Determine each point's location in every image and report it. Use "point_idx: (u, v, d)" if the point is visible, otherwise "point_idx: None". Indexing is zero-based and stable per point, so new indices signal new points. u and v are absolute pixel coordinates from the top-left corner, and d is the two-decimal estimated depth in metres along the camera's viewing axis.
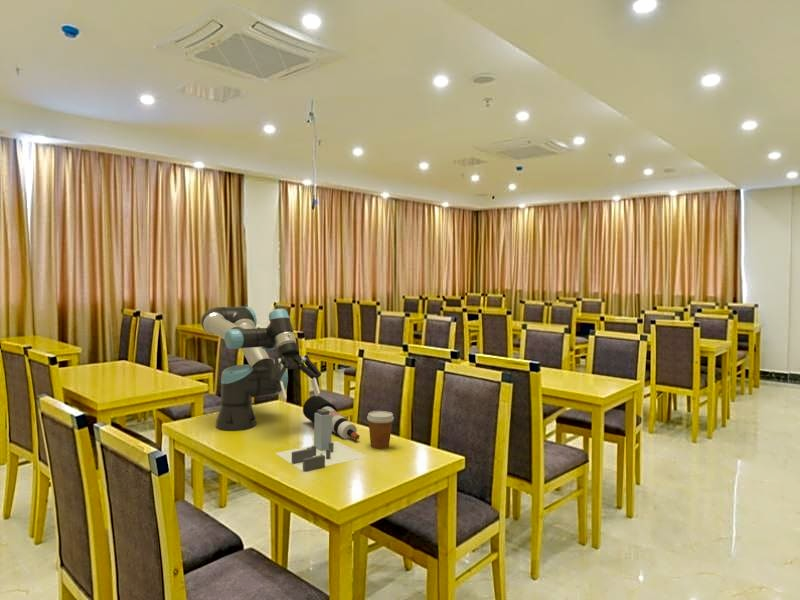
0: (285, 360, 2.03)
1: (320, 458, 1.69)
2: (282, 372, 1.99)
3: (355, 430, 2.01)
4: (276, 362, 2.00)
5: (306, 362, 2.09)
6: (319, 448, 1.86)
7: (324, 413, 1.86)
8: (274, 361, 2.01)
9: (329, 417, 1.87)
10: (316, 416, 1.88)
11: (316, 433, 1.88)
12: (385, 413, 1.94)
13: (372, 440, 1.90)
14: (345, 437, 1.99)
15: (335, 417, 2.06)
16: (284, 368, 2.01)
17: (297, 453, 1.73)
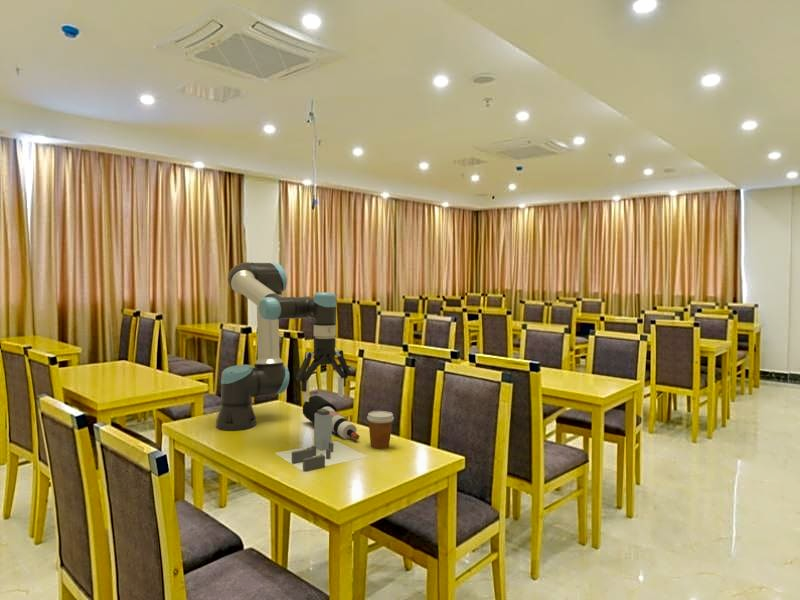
0: (318, 357, 1.84)
1: (320, 458, 1.69)
2: (311, 371, 1.83)
3: (355, 430, 2.01)
4: (308, 358, 1.82)
5: (339, 358, 1.90)
6: (319, 448, 1.86)
7: (324, 413, 1.86)
8: (306, 356, 1.82)
9: (329, 417, 1.87)
10: (316, 416, 1.88)
11: (316, 433, 1.88)
12: (385, 413, 1.94)
13: (372, 440, 1.90)
14: (345, 437, 1.99)
15: (335, 417, 2.05)
16: (315, 366, 1.83)
17: (297, 453, 1.73)
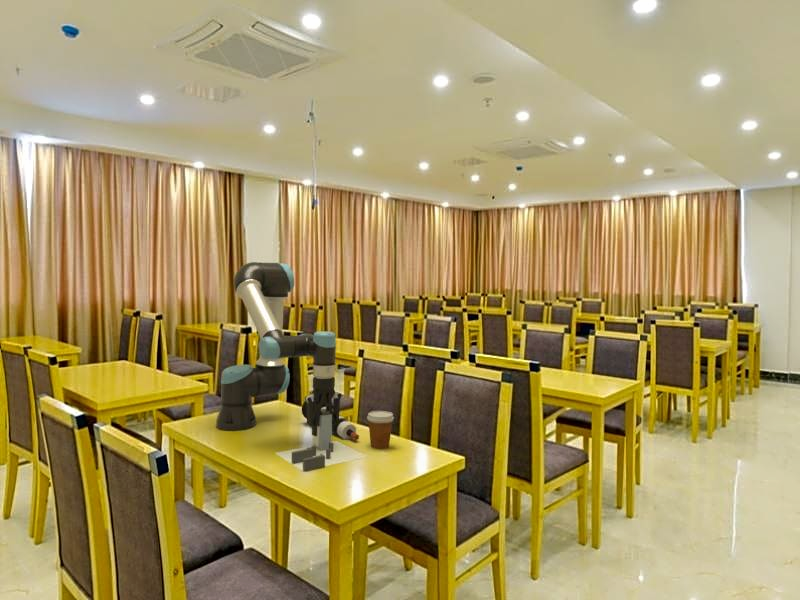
0: (318, 396, 1.85)
1: (320, 458, 1.69)
2: (318, 414, 1.85)
3: (354, 430, 2.01)
4: (310, 403, 1.83)
5: (335, 400, 1.90)
6: (319, 448, 1.86)
7: (324, 413, 1.86)
8: (307, 401, 1.83)
9: (329, 417, 1.87)
10: None
11: None
12: (385, 413, 1.94)
13: (372, 440, 1.90)
14: (344, 437, 1.99)
15: None
16: (319, 408, 1.85)
17: (297, 453, 1.73)
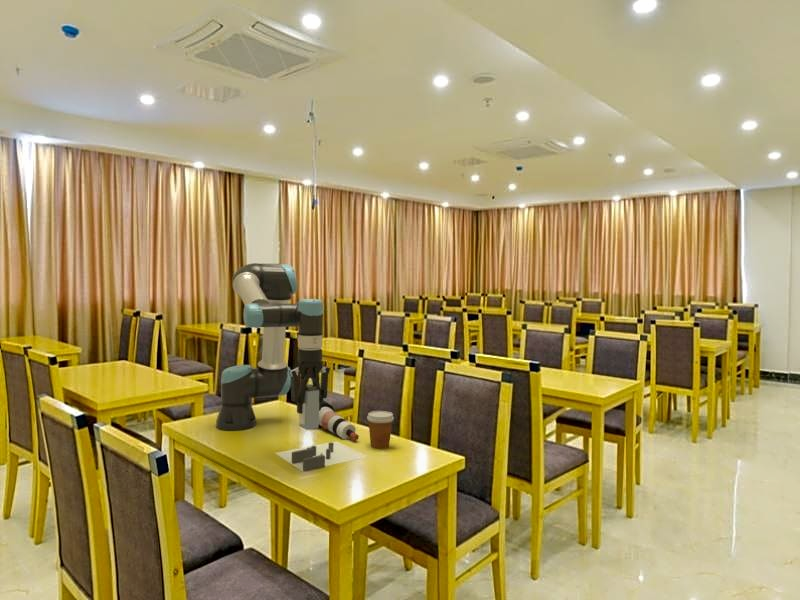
0: (304, 369, 1.68)
1: (320, 458, 1.69)
2: (304, 390, 1.68)
3: (354, 430, 2.01)
4: (294, 377, 1.66)
5: (323, 374, 1.73)
6: (305, 427, 1.69)
7: (310, 388, 1.69)
8: (292, 375, 1.66)
9: (316, 393, 1.69)
10: None
11: None
12: (385, 413, 1.94)
13: (372, 440, 1.90)
14: (344, 437, 1.99)
15: (334, 417, 2.05)
16: (305, 383, 1.68)
17: (297, 453, 1.73)
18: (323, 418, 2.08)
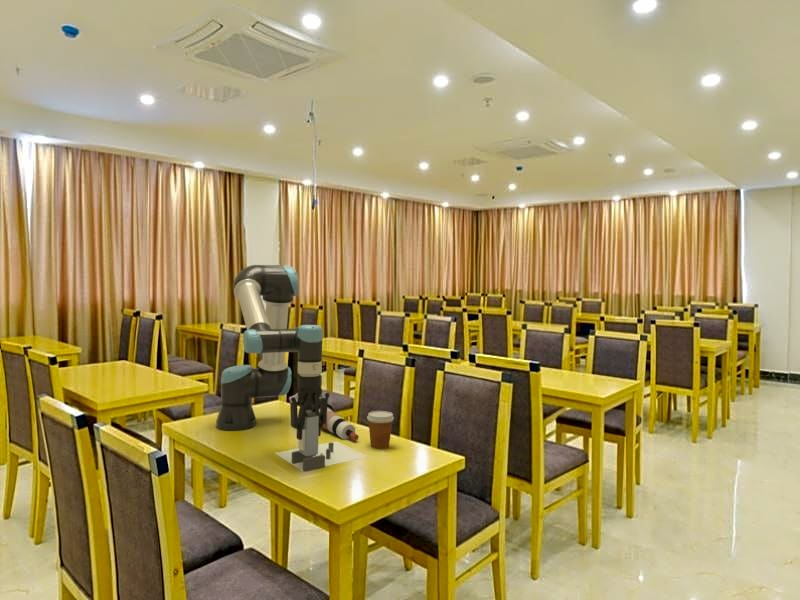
0: (303, 395, 1.68)
1: (320, 458, 1.69)
2: (303, 416, 1.68)
3: (354, 430, 2.01)
4: (294, 404, 1.66)
5: (322, 400, 1.73)
6: (304, 453, 1.69)
7: (310, 415, 1.69)
8: (291, 402, 1.66)
9: (316, 419, 1.69)
10: None
11: None
12: (385, 413, 1.94)
13: (372, 440, 1.90)
14: (344, 437, 1.99)
15: (333, 417, 2.05)
16: (304, 410, 1.68)
17: (297, 453, 1.73)
18: None
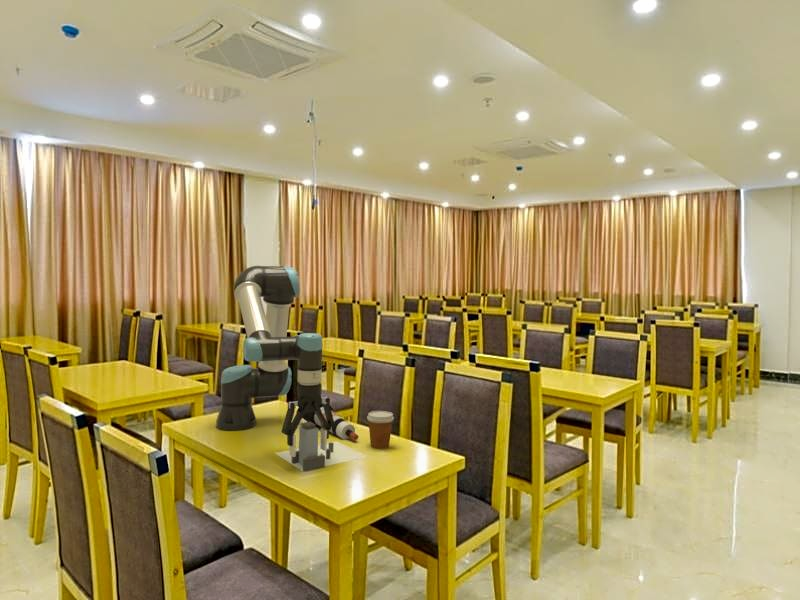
0: (302, 404, 1.68)
1: (320, 458, 1.69)
2: (297, 423, 1.67)
3: (353, 430, 2.01)
4: (291, 409, 1.66)
5: (325, 406, 1.74)
6: None
7: (309, 427, 1.69)
8: (289, 407, 1.66)
9: (315, 431, 1.70)
10: (301, 430, 1.71)
11: (301, 448, 1.71)
12: (385, 413, 1.94)
13: (372, 440, 1.90)
14: (344, 437, 1.99)
15: (333, 417, 2.05)
16: (300, 417, 1.68)
17: (297, 453, 1.73)
18: None
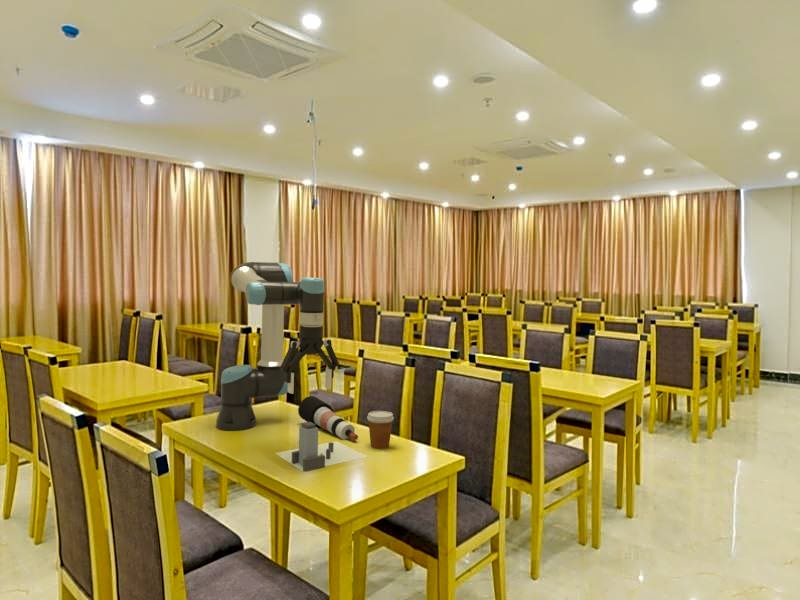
0: (304, 346, 1.73)
1: (320, 458, 1.69)
2: (297, 362, 1.71)
3: (353, 430, 2.01)
4: (293, 348, 1.70)
5: (327, 347, 1.79)
6: None
7: (309, 427, 1.69)
8: (291, 345, 1.71)
9: (315, 431, 1.70)
10: (301, 430, 1.71)
11: (301, 448, 1.71)
12: (385, 413, 1.94)
13: (372, 440, 1.90)
14: (343, 437, 1.99)
15: (332, 417, 2.05)
16: (300, 356, 1.72)
17: (297, 453, 1.73)
18: (321, 418, 2.08)
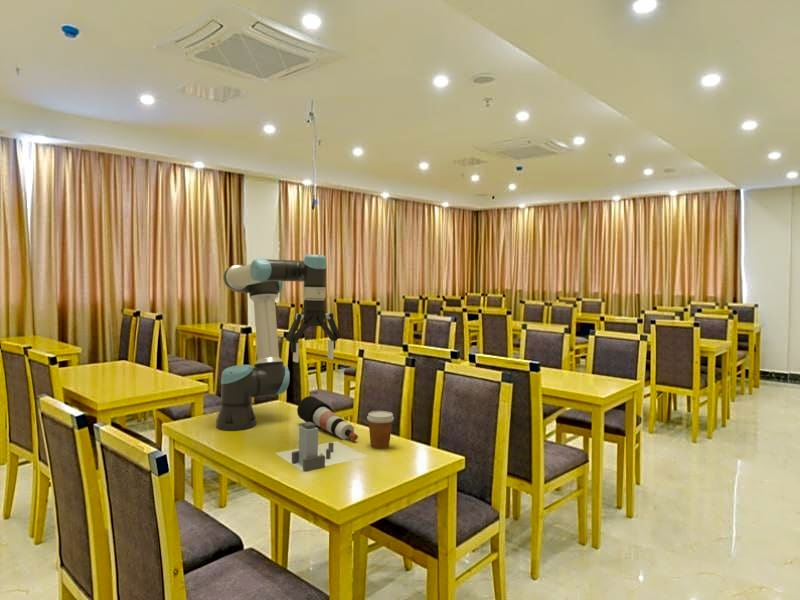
0: (308, 318, 1.86)
1: (320, 458, 1.69)
2: (301, 332, 1.84)
3: (353, 430, 2.01)
4: (298, 319, 1.83)
5: (329, 320, 1.92)
6: None
7: (309, 427, 1.69)
8: (296, 317, 1.84)
9: (315, 431, 1.70)
10: (301, 430, 1.71)
11: (301, 448, 1.71)
12: (385, 413, 1.94)
13: (372, 440, 1.90)
14: (343, 437, 1.99)
15: (332, 417, 2.05)
16: (304, 328, 1.85)
17: (297, 453, 1.73)
18: (321, 418, 2.08)
